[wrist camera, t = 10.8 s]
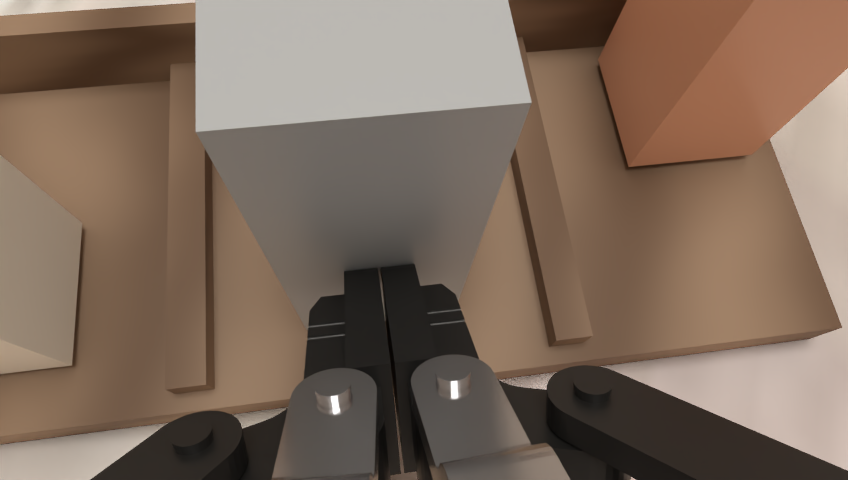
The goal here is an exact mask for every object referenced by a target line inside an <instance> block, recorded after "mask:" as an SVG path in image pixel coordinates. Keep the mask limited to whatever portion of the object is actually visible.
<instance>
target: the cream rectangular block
mask: <svg viewBox="0 0 848 480" xmlns="http://www.w3.org/2000/svg"><path fill="white" fill-rule="evenodd" d="M81 233H82V223H81V222H80V221H79V220H78V219H77V218H75V217H74V216H73V215H72V214H71V213H69V212H68V211H67V210H66V209H65V208H63V207H62V206H61V205H60V204H59V203H57V202H56V201H55V200H54V199H53V198H51V197H50V196H49V195H48V194H47V193H45V192H44V191H43V190H42V189H41V188H39V187H38V186H37V185H36V184H35V183H33V182H32V181H31V180H30V179H29V178H27V177H26V176H25V175H24V174H23V173H21V172H20V171H19V170H18V169H17V168H15V167H14V166H13V165H12V164H11V163H9V162H8V161H7V160H6V159H5V158H3V157H2V156H1V155H0V374H6V373H14V372H22V371H31V370H39V369H47V368H56V367H64V366H72V359H73V345H74V331H75V317H76V303H77V289H78V275H79V261H80V247H81Z"/></svg>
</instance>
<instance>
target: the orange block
mask: <svg viewBox="0 0 848 480" xmlns="http://www.w3.org/2000/svg"><path fill="white" fill-rule="evenodd" d="M598 62H599V65H600V69H601V72H602V76H603V79H604V83H605V86H606V90H607V93H608V97H609V100H610V104H611V107H612V111H613V114H614V118H615V121H616V125H617V128H618V132H619V135H620V139H621V142H622V146H623V149H624V153H625V156H626V160H627V163H628V167H634V166H644V165H654V164H664V163H674V162H684V161H694V160H704V159H715V158H725V157H735V156H745V155H752V154H753V153H754V152H755V151H757V150H758V149H759V148H760V147H761V146H762V145H763V144H764V143H765V142H766V141H768V140H769V139H770V138H771V137H772V136H773V135H774V134H775V133H776V132H777V131H779V130H780V129H781V128H782V127H783V126H784V125H785V124H786V123H787V122H789V121H790V120H791V119H792V118H793V117H794V116H795V115H796V114H797V113H798V112H800V111H801V110H802V109H803V108H804V107H805V106H806V105H807V104H808V103H809V102H811V101H812V100H813V99H814V98H815V97H816V96H817V95H818V94H819V93H821V92H822V91H823V90H824V89H825V88H826V87H827V86H828V85H829V84H830V83H832V82H833V81H834V80H835V79H836V78H837V77H838V76H839V75H840V74H841V73H843V72H844V71H845V70H846V69H847V68H848V0H627V1H626V3H625V5H624V7H623V9H622V11H621V14H620V16H619V18H618V20H617V22H616V24H615V26H614V28H613V30H612V32H611V34H610V36H609V38H608V40H607V42H606V44H605V46H604V48H603V50H602V52H601V54H600V56H599V58H598Z"/></svg>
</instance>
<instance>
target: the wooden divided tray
mask: <svg viewBox="0 0 848 480" xmlns="http://www.w3.org/2000/svg"><path fill="white" fill-rule="evenodd" d="M626 1H627V0H508V3H509V7H510V11H511V15H512V20H513V24H514V28H515V33H516V37H517V41H518V46H519V50H520V54H521V59H522V63H523V67H524V72H525V76H526V80H527V84H528V89H529V93H530V97H531V102H532V103H531V106H530V108H529V111H528V114H527V117H526V119H525V122H524V125H523V127H522V130H521V133H520V135H519V138H518V141H517V144H516V146H515V149H514V152H513V154H512V157H511V160H510V163H509V165H508V168H507V171H506V173H505V176H504V179H503V181H502V184H501V187H500V190H499V192H498V195H497V198H496V200H495V203H494V206H493V208H492V211H491V214H490V217H489V219H488V222H487V225H486V227H485V230H484V233H483V235H482V238H481V241H480V244H479V246H478V249H477V252H476V254H475V257H474V260H473V263H472V265H471V268H470V271H469V273H468V276H467V279H466V281H465V284H464V287H463V290H462V292H461V295H460V298H459V300H458V302H459V305H460V308H461V311H462V313H463V316H464V319H465V322H466V324H467V327H468V330H469V332H470V335H471V338H472V341H473V343H474V346H475V349H476V352H477V354H478V357H479V360H481V361H483V362H485V363H486V364H487V365H488V366H489V367H491V369H492V370H493V372H494V374H495V375H496V377H497V379H505V378H512V377H520V376H528V375H535V374H543V373H551V372H558V371H560V370H563V369H565V368H569V367H573V366H582V365H588V366H604V365H612V364H620V363H627V362H635V361H643V360H650V359H658V358H666V357H673V356H681V355H689V354H696V353H704V352H712V351H719V350H727V349H735V348H742V347H750V346H758V345H765V344H773V343H781V342H788V341H796V340H804V339H810V338H813V337H816V336H819V335H822V334H825V333H827V332H830V331H833V330H836V329H839V328H842V326H841V323H840V321H839V318H838V315H837V313H836V310H835V308H834V305H833V302H832V300H831V297H830V295H829V292H828V289H827V287H826V284H825V282H824V279H823V276H822V274H821V271H820V269H819V266H818V264H817V261H816V258H815V256H814V253H813V251H812V248H811V245H810V243H809V240H808V238H807V235H806V232H805V230H804V227H803V225H802V222H801V219H800V217H799V214H798V212H797V209H796V207H795V204H794V201H793V199H792V196H791V194H790V191H789V188H788V186H787V183H786V181H785V178H784V175H783V173H782V170H781V168H780V165H779V162H778V160H777V157H776V155H775V152H774V149H773V147H772V144H771V142H770V139H769V140H768V141H766V142H765V143H764V144H763V145H762V146H761V147H760V148H759V149H758V150H757V151H755V152H754V153H753V154H752V155H745V156H735V157H725V158H715V159H704V160H694V161H684V162H674V163H664V164H654V165H644V166H634V167H628V163H627V160H626V156H625V153H624V149H623V146H622V142H621V139H620V135H619V132H618V128H617V125H616V121H615V118H614V114H613V111H612V107H611V104H610V100H609V97H608V93H607V90H606V86H605V83H604V79H603V76H602V72H601V69H600V65H599V62H598V58H599V56H600V54H601V52H602V50H603V48H604V46H605V44H606V42H607V40H608V38H609V36H610V34H611V32H612V30H613V28H614V26H615V24H616V22H617V20H618V18H619V16H620V14H621V11H622V9H623V7H624V5H625V3H626ZM0 155H1V156H2V157H3V158H5V159H6V160H7V161H8V162H9V163H11V164H12V165H13V166H14V167H15V168H17V169H18V170H19V171H20V172H21V173H23V174H24V175H25V176H26V177H27V178H29V179H30V180H31V181H32V182H33V183H35V184H36V185H37V186H38V187H39V188H41V189H42V190H43V191H44V192H45V193H47V194H48V195H49V196H50V197H51V198H53V199H54V200H55V201H56V202H57V203H59V204H60V205H61V206H62V207H63V208H65V209H66V210H67V211H68V212H69V213H71V214H72V215H73V216H74V217H75V218H77V219H78V220H79V221H80V222H81V223H82V233H81V247H80V261H79V275H78V289H77V303H76V317H75V331H74V345H73V359H72V366H64V367H56V368H47V369H39V370H31V371H22V372H14V373H6V374H0V444H6V443H14V442H22V441H29V440H37V439H45V438H52V437H60V436H68V435H75V434H83V433H91V432H98V431H106V430H114V429H121V428H129V427H137V426H144V425H152V424H160V423H167V422H172V421H174V420H176V419H178V418H180V417H183V416H185V415H188V414H192V413H196V412H201V411H222V412H226V413H229V414H236V413H244V412H252V411H259V410H267V409H275V408H282V407H288V406H289V402H290V397H291V394H292V392H293V390H294V389H295V387H296V386H297V385H298V384H299V383H300V382H302V381H303V380H304V370H305V358H306V347H307V340H308V339H307V335H308V330H306V328H305V326H304V324H303V322H302V321H301V319H300V317H299V315H298V313H297V312H296V310H295V308H294V306H293V305H292V303H291V301H290V299H289V297H288V296H287V294H286V292H285V290H284V289H283V287H282V285H281V283H280V281H279V280H278V278H277V276H276V274H275V273H274V271H273V269H272V267H271V265H270V264H269V262H268V260H267V258H266V256H265V255H264V253H263V251H262V249H261V248H260V246H259V244H258V242H257V240H256V239H255V237H254V235H253V233H252V232H251V230H250V228H249V226H248V224H247V223H246V221H245V219H244V217H243V216H242V214H241V212H240V210H239V208H238V207H237V205H236V203H235V201H234V199H233V198H232V196H231V194H230V192H229V191H228V189H227V187H226V185H225V183H224V182H223V180H222V178H221V176H220V175H219V173H218V171H217V169H216V167H215V166H214V164H213V162H212V160H211V158H210V157H209V155H208V153H207V151H206V150H205V148H204V146H203V144H202V142H201V141H200V139H199V137H198V135H197V134H196V3H184V4H169V5H154V6H139V7H125V8H110V9H95V10H81V11H66V12H51V13H37V14H22V15H7V16H0ZM385 325H386V321H385ZM386 333H387V330H386ZM392 384H393V381H392ZM393 393H394V389H393Z"/></svg>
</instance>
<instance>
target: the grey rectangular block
mask: <svg viewBox="0 0 848 480" xmlns="http://www.w3.org/2000/svg"><path fill="white" fill-rule="evenodd" d="M531 103H532V102H531V97H530V93H529V89H528V84H527V80H526V76H525V72H524V67H523V63H522V59H521V54H520V50H519V46H518V41H517V37H516V33H515V28H514V24H513V20H512V15H511V11H510V7H509V3H508V0H196V134H197V135H198V137H199V139H200V141H201V142H202V144H203V146H204V148H205V150H206V151H207V153H208V155H209V157H210V158H211V160H212V162H213V164H214V166H215V167H216V169H217V171H218V173H219V175H220V176H221V178H222V180H223V182H224V183H225V185H226V187H227V189H228V191H229V192H230V194H231V196H232V198H233V199H234V201H235V203H236V205H237V207H238V208H239V210H240V212H241V214H242V216H243V217H244V219H245V221H246V223H247V224H248V226H249V228H250V230H251V232H252V233H253V235H254V237H255V239H256V240H257V242H258V244H259V246H260V248H261V249H262V251H263V253H264V255H265V256H266V258H267V260H268V262H269V264H270V265H271V267H272V269H273V271H274V273H275V274H276V276H277V278H278V280H279V281H280V283H281V285H282V287H283V289H284V290H285V292H286V294H287V296H288V297H289V299H290V301H291V303H292V305H293V306H294V308H295V310H296V312H297V313H298V315H299V317H300V319H301V321H302V322H303V324H304V326H305V328H306V330H308V328H309V326H308V323H309V312H310V310H311V308H312V307H313V306H314V305H315V303H316V302H317V301H318V300H319V299H320V297H324V296H333V295H342V294H344V271H352V270H362V269H371V268H378V272H379V280H380V287H381V295H382V303H383V310H384V318H385V309H384V298H383V288H382V277H381V267H389V266H399V265H408V264H415V267H416V271H417V275H418V279H419V283H420V286H424V285H433V284H443V285H444V286H445V287H447V288H448V289H449V290H451V291H452V292H453V293H455V294H456V297H457V299H458V300H459V298H460V295H461V292H462V290H463V287H464V284H465V281H466V279H467V276H468V273H469V271H470V268H471V265H472V263H473V260H474V257H475V254H476V252H477V249H478V246H479V244H480V241H481V238H482V235H483V233H484V230H485V227H486V225H487V222H488V219H489V217H490V214H491V211H492V208H493V206H494V203H495V200H496V198H497V195H498V192H499V190H500V187H501V184H502V181H503V179H504V176H505V173H506V171H507V168H508V165H509V163H510V160H511V157H512V154H513V152H514V149H515V146H516V144H517V141H518V138H519V135H520V133H521V130H522V127H523V125H524V122H525V119H526V117H527V114H528V111H529V108H530V106H531ZM385 321H386V320H385Z"/></svg>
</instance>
